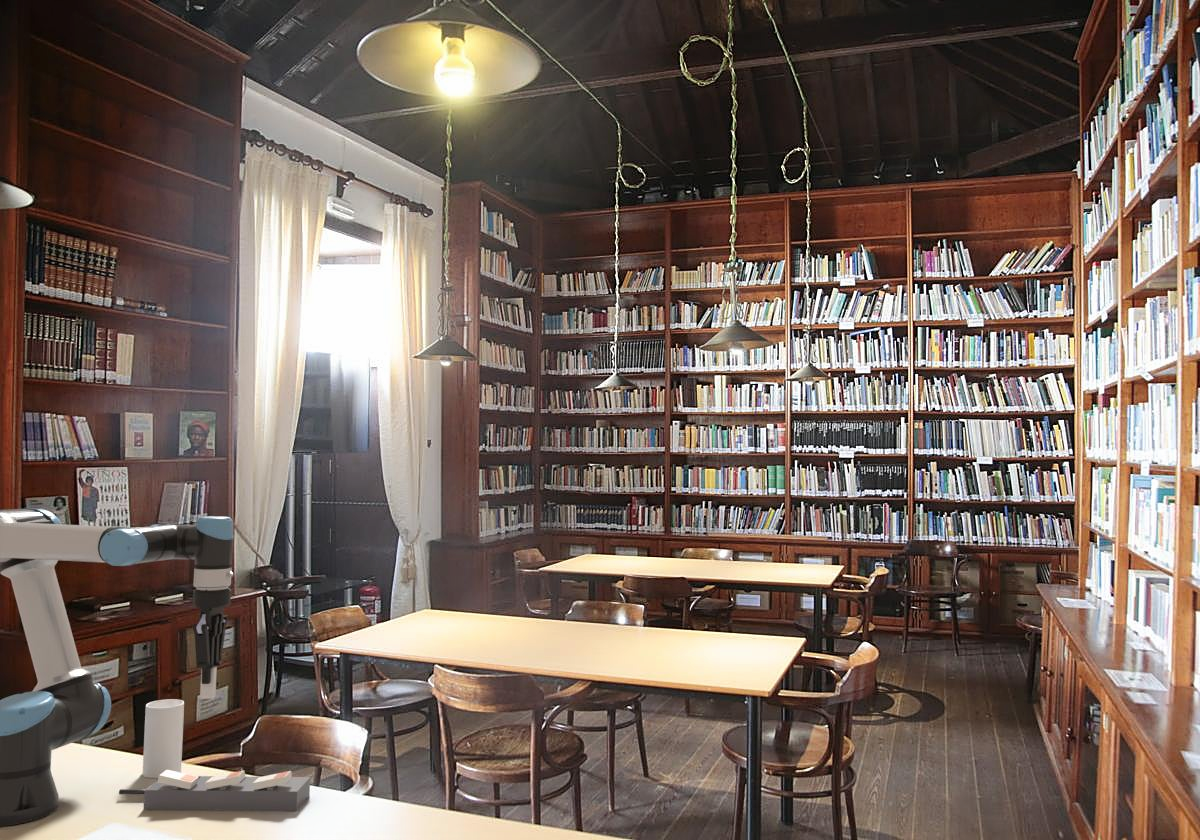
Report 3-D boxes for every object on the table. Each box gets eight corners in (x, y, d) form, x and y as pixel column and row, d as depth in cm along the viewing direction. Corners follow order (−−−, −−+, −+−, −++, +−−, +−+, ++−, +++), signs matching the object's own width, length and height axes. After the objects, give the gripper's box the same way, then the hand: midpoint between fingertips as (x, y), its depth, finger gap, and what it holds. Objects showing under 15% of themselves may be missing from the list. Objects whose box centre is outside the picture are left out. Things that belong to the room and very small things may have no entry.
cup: (188, 767, 215) (191, 699, 216) (168, 778, 207) (171, 708, 208) (155, 765, 216) (158, 698, 217) (134, 777, 208) (138, 707, 209)
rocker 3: (253, 790, 189) (252, 782, 189) (260, 784, 193) (258, 776, 193) (286, 783, 190) (285, 776, 190) (292, 777, 193) (290, 770, 193)
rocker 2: (206, 789, 189) (205, 782, 189) (213, 783, 193) (212, 776, 193) (239, 782, 189) (237, 775, 189) (245, 777, 193) (244, 769, 193)
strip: (104, 809, 188) (106, 787, 188) (126, 794, 197) (127, 773, 197) (296, 810, 189) (297, 789, 189) (309, 795, 198) (310, 774, 198)
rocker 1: (157, 782, 189) (159, 774, 189) (165, 776, 193) (167, 769, 193) (189, 789, 189) (191, 782, 189) (197, 783, 193) (198, 776, 193)
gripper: (217, 591, 188) (212, 705, 187) (241, 584, 201) (236, 690, 200) (181, 591, 188) (176, 705, 187) (207, 583, 201) (202, 690, 200)
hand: (207, 697), depth 193 cm, fingers closed
